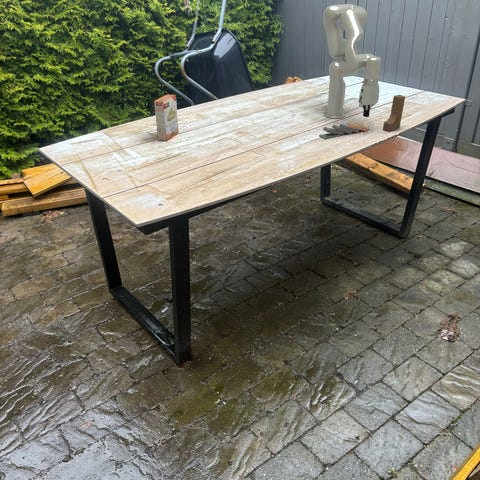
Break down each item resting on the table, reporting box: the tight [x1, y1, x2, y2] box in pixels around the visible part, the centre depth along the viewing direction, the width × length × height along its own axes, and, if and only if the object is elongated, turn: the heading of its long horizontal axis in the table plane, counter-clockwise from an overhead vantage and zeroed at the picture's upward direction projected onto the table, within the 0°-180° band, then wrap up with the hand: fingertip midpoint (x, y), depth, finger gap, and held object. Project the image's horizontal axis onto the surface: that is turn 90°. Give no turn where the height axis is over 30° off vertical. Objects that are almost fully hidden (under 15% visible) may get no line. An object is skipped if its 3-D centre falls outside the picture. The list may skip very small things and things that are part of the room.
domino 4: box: [339, 123, 360, 134], centre depth 247 cm, size 5×2×10 cm
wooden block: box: [382, 94, 406, 133], centre depth 247 cm, size 9×4×18 cm, turn 123°
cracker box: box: [153, 94, 179, 142], centre depth 241 cm, size 14×6×21 cm, turn 160°
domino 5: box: [347, 122, 369, 132], centre depth 249 cm, size 5×2×10 cm
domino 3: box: [331, 124, 353, 135], centre depth 246 cm, size 5×2×10 cm
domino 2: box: [318, 132, 341, 140], centre depth 244 cm, size 5×2×10 cm
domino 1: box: [322, 126, 345, 136], centre depth 244 cm, size 5×2×10 cm
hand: (365, 116), depth 248 cm, fingers closed
